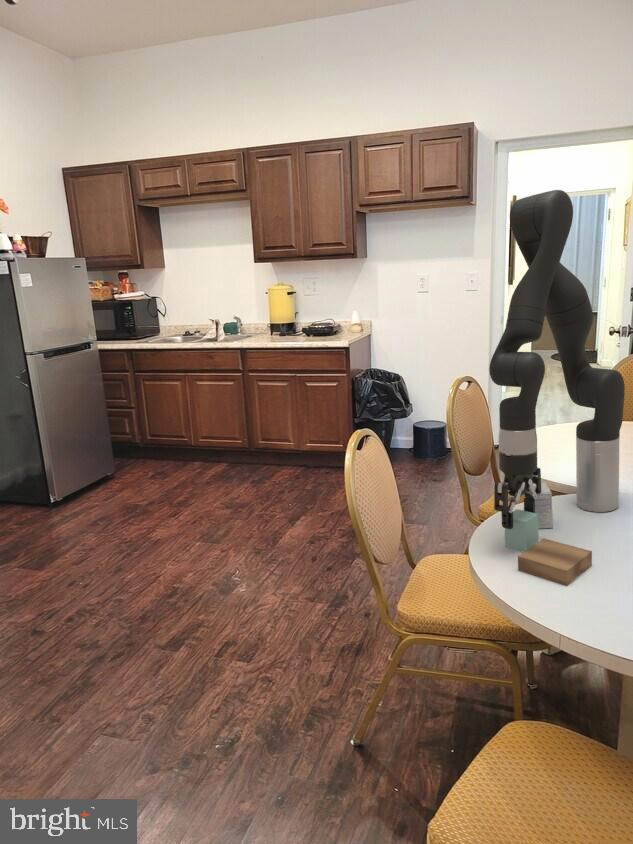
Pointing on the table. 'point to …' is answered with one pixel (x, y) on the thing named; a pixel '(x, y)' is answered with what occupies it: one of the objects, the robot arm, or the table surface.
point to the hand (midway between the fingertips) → (518, 521)
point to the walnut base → (555, 561)
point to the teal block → (522, 531)
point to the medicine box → (544, 506)
